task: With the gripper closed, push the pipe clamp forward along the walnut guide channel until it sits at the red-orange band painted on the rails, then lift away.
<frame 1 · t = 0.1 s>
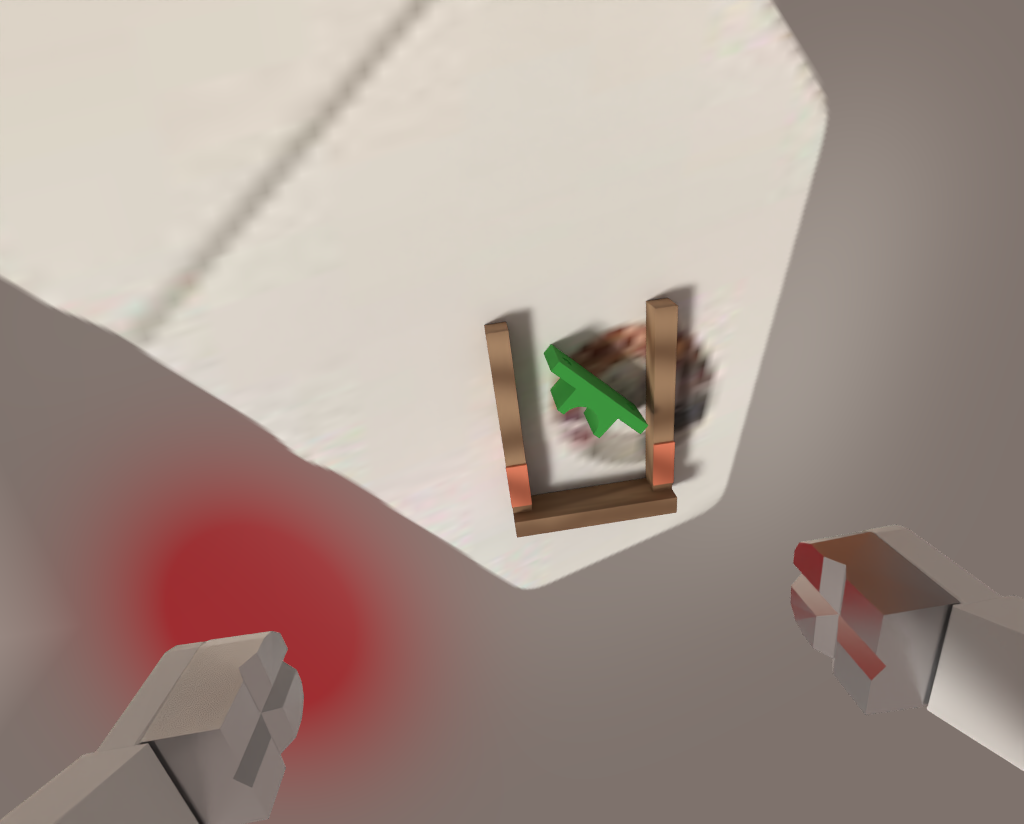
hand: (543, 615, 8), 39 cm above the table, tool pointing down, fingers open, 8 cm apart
guide channel: (582, 411, 51), on the table
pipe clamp: (581, 386, 50), on the table
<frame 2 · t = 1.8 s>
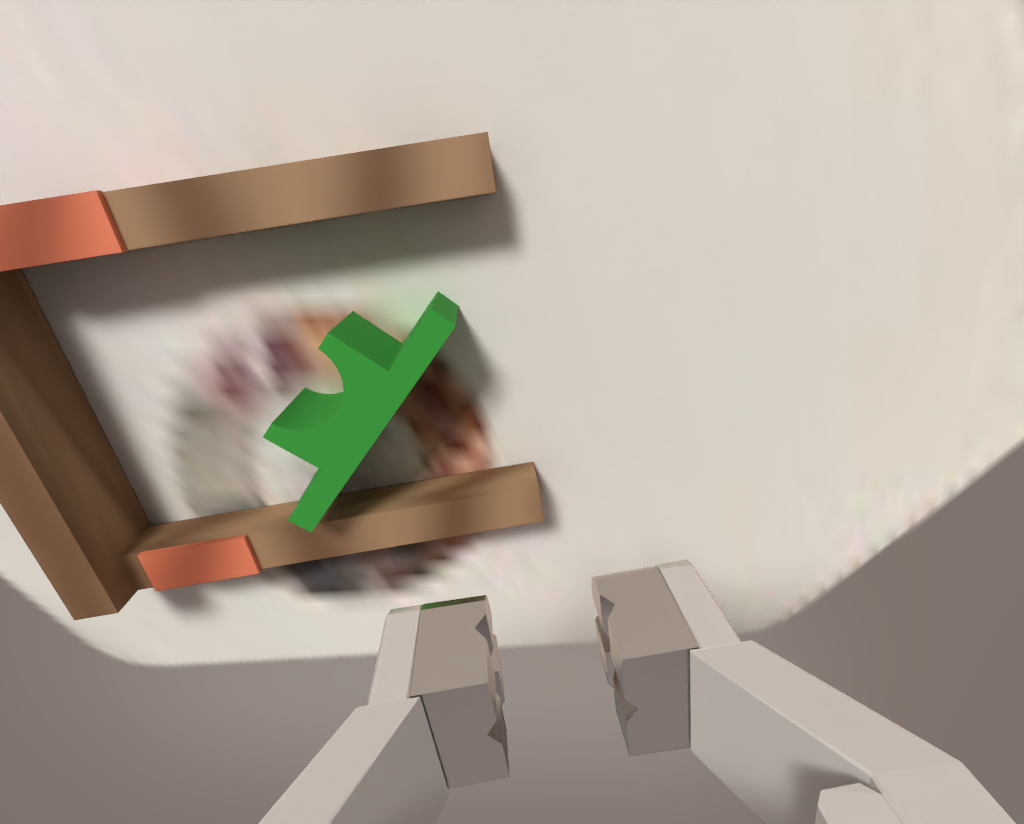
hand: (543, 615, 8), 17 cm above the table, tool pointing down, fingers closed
guide channel: (294, 377, 24), on the table
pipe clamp: (364, 376, 24), on the table
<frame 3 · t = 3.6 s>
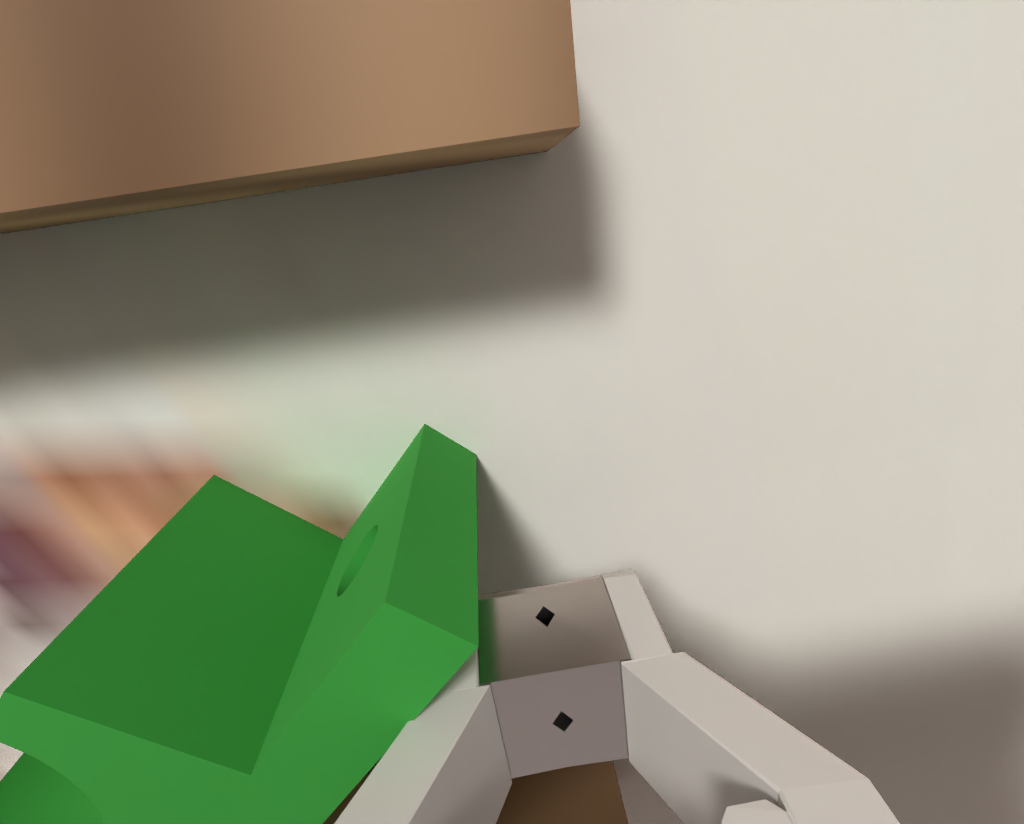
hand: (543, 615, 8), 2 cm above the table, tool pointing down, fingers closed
guide channel: (53, 601, 10), on the table
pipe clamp: (260, 602, 11), on the table, touching gripper
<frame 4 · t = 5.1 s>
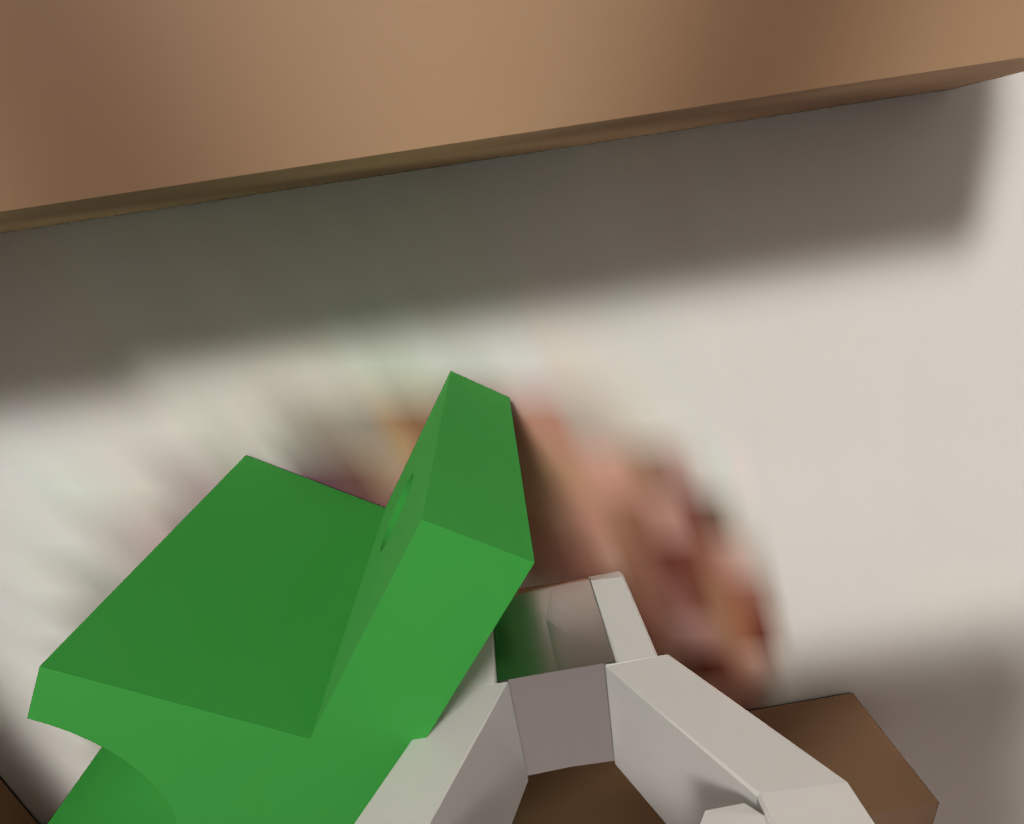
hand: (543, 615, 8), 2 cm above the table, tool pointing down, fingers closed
guide channel: (369, 552, 10), on the table
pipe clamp: (312, 588, 10), on the table, touching gripper
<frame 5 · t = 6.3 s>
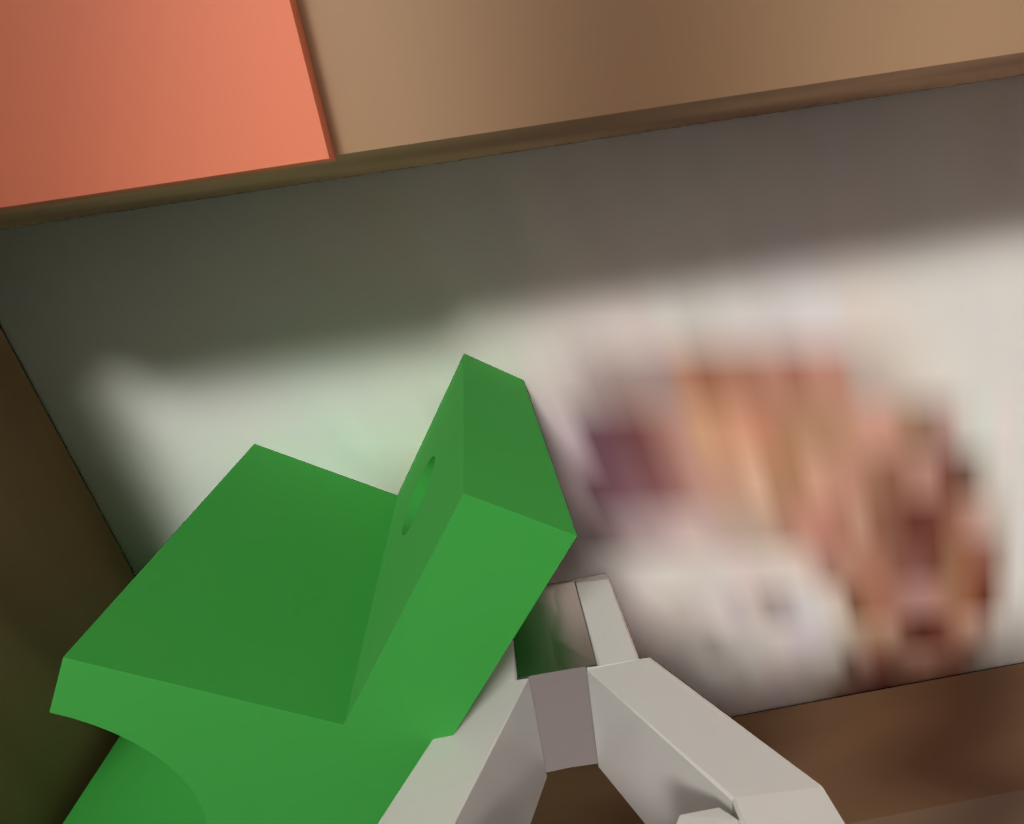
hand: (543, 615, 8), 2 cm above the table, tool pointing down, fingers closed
guide channel: (635, 510, 10), on the table
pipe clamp: (322, 579, 10), on the table, touching gripper, guide channel
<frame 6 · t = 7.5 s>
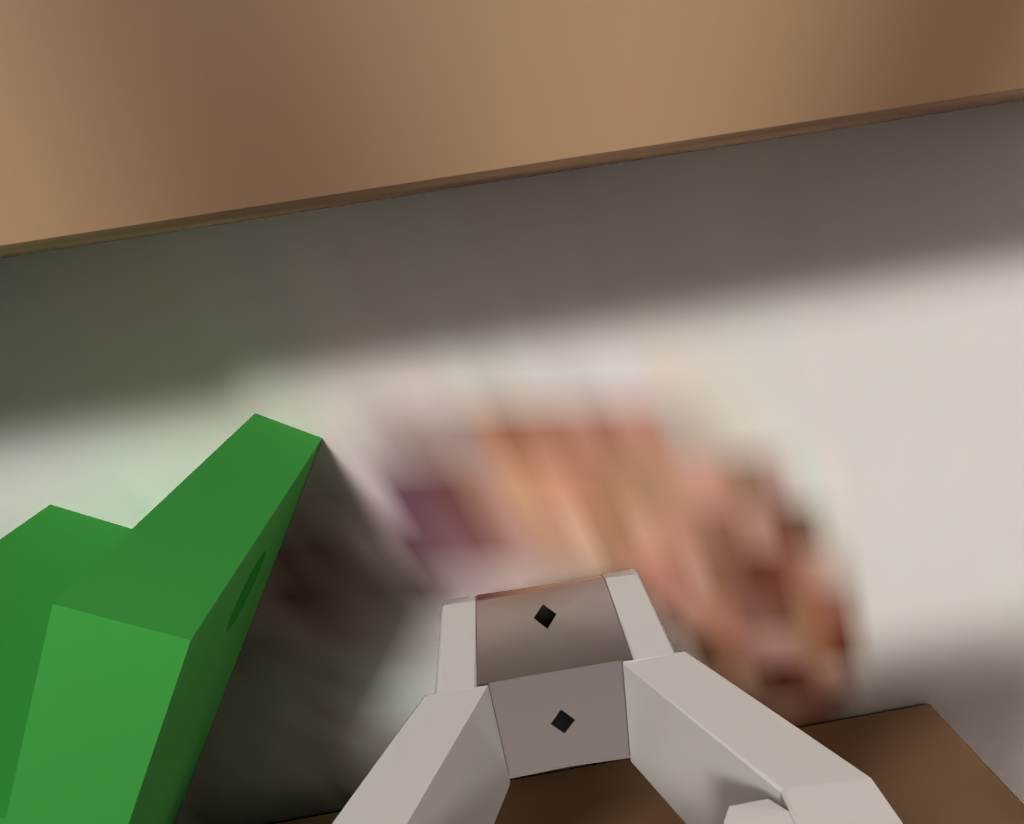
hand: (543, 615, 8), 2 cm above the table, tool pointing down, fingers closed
guide channel: (457, 565, 10), on the table
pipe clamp: (153, 627, 10), on the table
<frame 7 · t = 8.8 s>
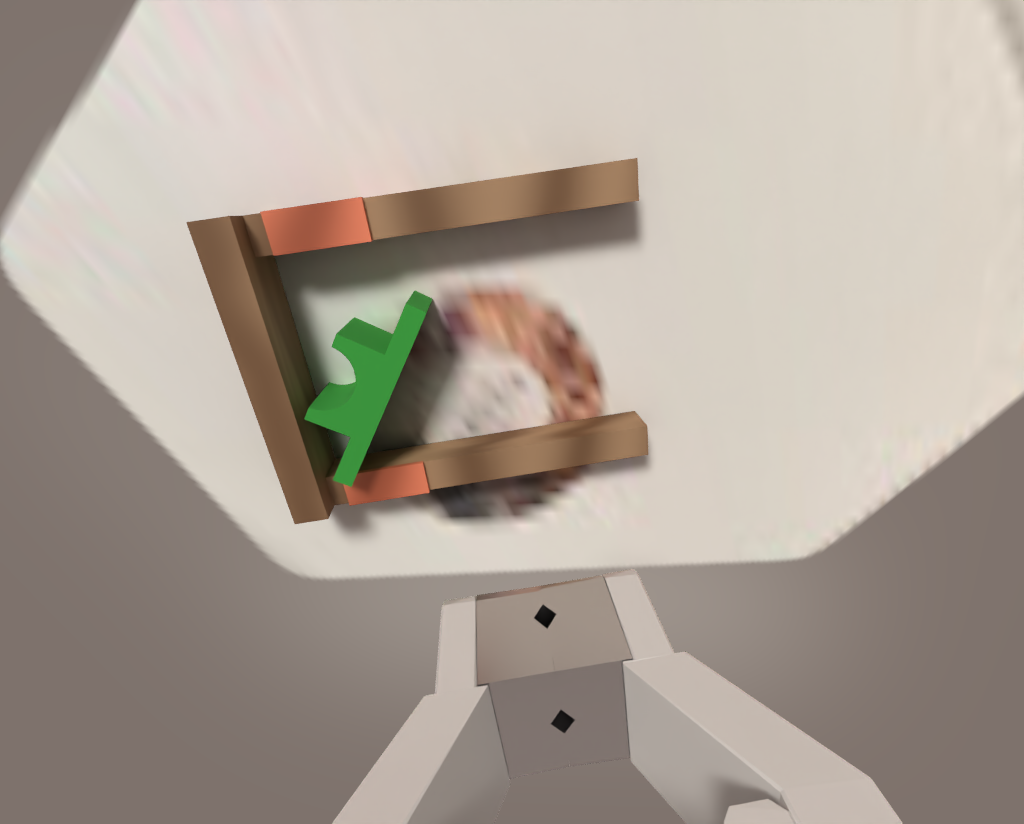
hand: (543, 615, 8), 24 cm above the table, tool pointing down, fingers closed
guide channel: (461, 340, 31), on the table
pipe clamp: (372, 366, 31), on the table
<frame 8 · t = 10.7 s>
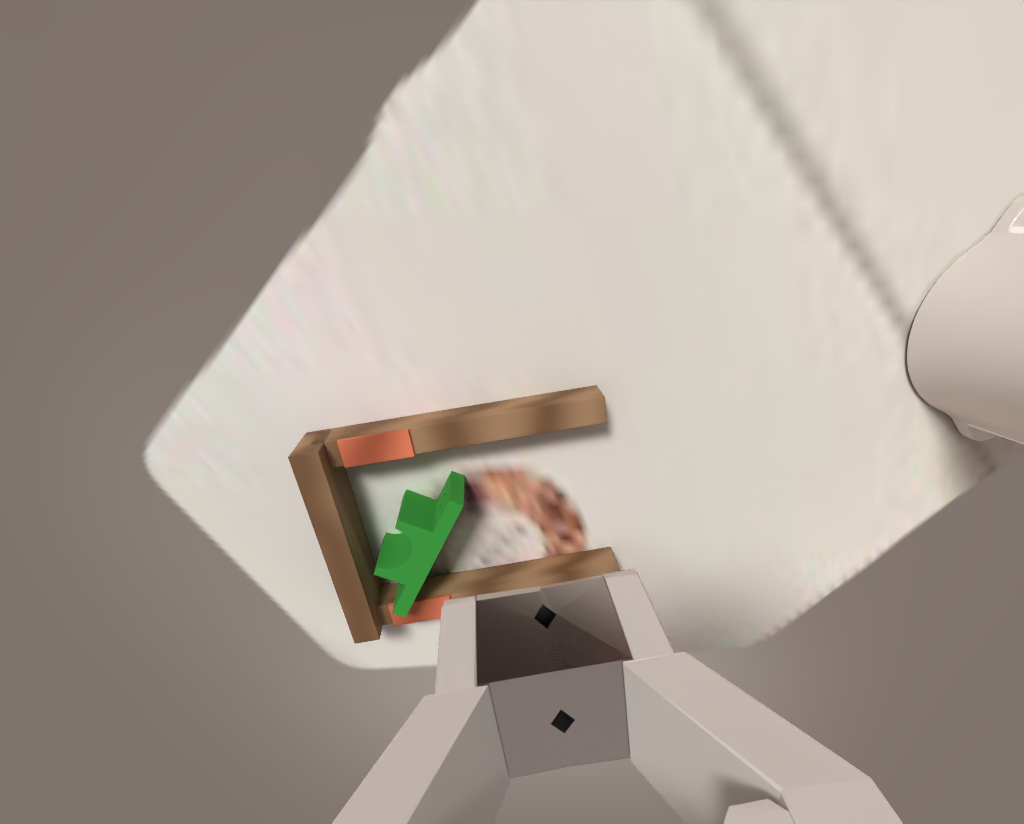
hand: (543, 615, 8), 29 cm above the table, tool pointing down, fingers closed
guide channel: (477, 503, 41), on the table
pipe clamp: (418, 519, 42), on the table, touching guide channel
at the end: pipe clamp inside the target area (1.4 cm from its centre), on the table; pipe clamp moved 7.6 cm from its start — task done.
